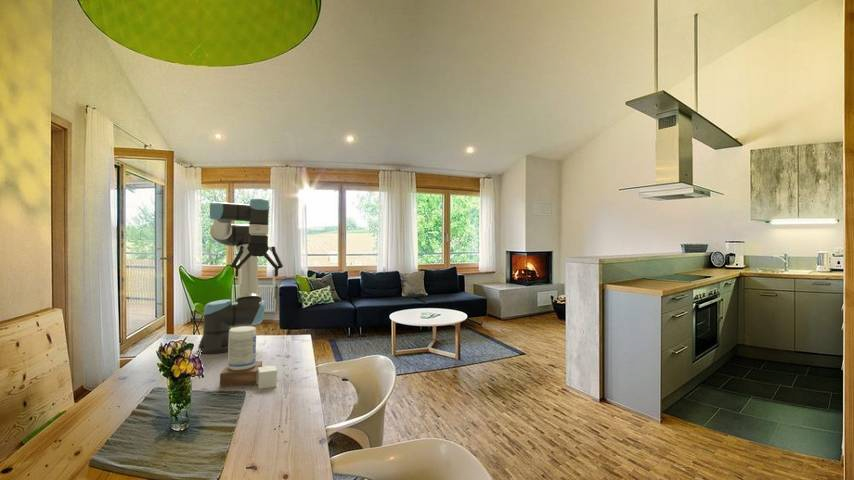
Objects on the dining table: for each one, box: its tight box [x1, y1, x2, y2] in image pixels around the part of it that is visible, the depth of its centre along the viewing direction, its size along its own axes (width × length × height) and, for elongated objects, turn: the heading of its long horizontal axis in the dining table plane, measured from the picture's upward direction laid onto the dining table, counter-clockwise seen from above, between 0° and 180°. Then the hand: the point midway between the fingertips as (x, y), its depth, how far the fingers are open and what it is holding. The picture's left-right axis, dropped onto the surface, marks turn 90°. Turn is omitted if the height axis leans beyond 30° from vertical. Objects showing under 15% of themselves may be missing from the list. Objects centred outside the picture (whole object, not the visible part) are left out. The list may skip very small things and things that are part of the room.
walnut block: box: [219, 360, 263, 388], centre depth 142 cm, size 12×12×5 cm
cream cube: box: [256, 365, 278, 390], centre depth 139 cm, size 6×6×6 cm
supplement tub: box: [227, 325, 257, 371], centre depth 142 cm, size 10×10×15 cm
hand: (256, 284), depth 159 cm, fingers open, 13 cm apart
